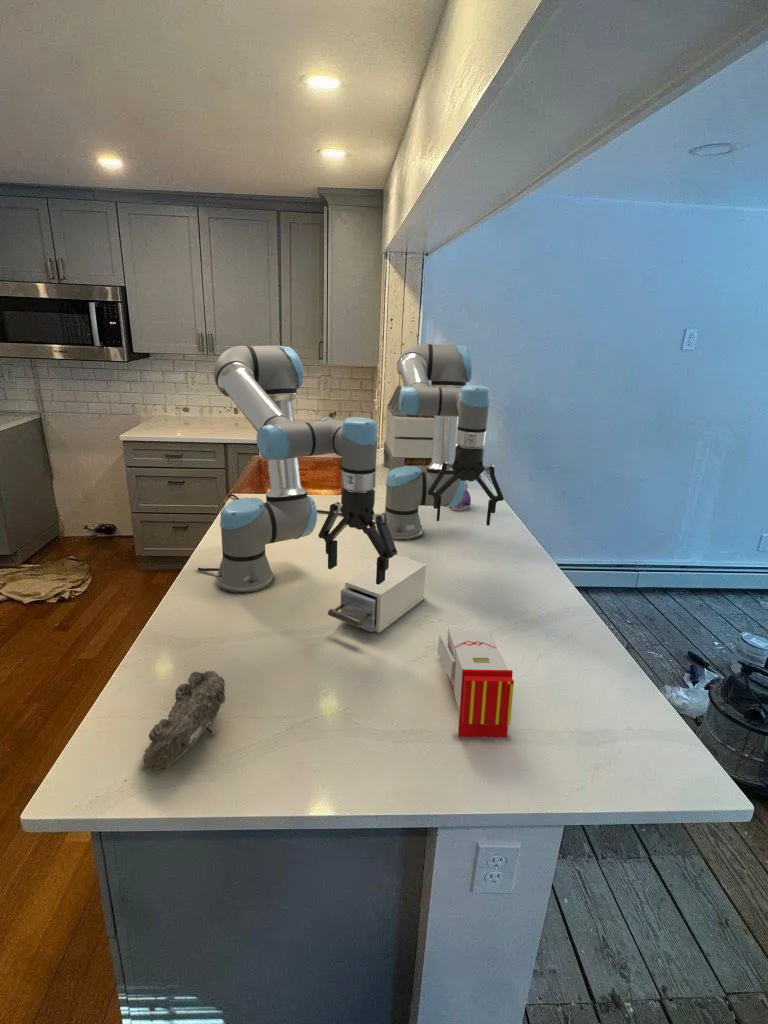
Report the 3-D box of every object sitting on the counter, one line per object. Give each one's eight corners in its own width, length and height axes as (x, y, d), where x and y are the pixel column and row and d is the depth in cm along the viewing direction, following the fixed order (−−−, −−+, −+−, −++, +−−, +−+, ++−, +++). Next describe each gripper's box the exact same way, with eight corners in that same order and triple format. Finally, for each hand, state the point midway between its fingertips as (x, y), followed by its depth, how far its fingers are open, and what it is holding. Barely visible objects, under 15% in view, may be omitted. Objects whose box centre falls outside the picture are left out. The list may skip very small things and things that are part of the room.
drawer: (358, 642, 132) (359, 610, 130) (326, 629, 137) (326, 598, 134) (415, 600, 153) (417, 572, 150) (385, 589, 158) (386, 562, 155)
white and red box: (488, 613, 130) (523, 677, 101) (484, 667, 133) (517, 744, 104) (435, 612, 130) (455, 676, 101) (432, 666, 133) (451, 743, 103)
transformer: (382, 463, 289) (386, 382, 275) (445, 464, 293) (451, 384, 279) (390, 482, 257) (394, 392, 243) (460, 483, 261) (468, 394, 247)
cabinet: (379, 632, 139) (380, 594, 135) (344, 618, 144) (344, 581, 141) (423, 598, 156) (426, 564, 152) (391, 587, 161) (392, 553, 158)
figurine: (457, 512, 223) (460, 476, 218) (443, 504, 231) (446, 469, 226) (477, 509, 227) (480, 473, 222) (462, 502, 236) (465, 467, 230)
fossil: (173, 672, 114) (226, 639, 109) (207, 702, 116) (260, 672, 111) (117, 763, 94) (178, 728, 89) (159, 797, 97) (220, 765, 92)
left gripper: (303, 481, 129) (304, 566, 136) (398, 504, 117) (393, 595, 124) (323, 474, 135) (322, 556, 142) (415, 495, 123) (409, 582, 131)
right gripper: (421, 445, 146) (416, 522, 154) (519, 452, 144) (510, 530, 151) (423, 439, 153) (418, 513, 161) (517, 446, 151) (507, 520, 158)
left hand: (355, 574), depth 133 cm, fingers open, 13 cm apart
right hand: (462, 521), depth 156 cm, fingers open, 13 cm apart
